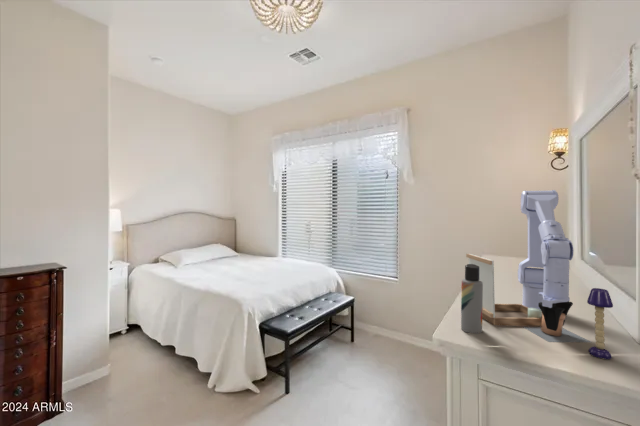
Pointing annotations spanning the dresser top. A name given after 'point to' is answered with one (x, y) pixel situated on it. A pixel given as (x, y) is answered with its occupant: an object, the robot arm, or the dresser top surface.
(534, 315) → the pale green egg
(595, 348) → the toy lamp
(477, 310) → the lotion bottle
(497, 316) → the wooden tray
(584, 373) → the dresser top surface
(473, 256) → the lid
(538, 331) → the mat
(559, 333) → the terracotta pot
